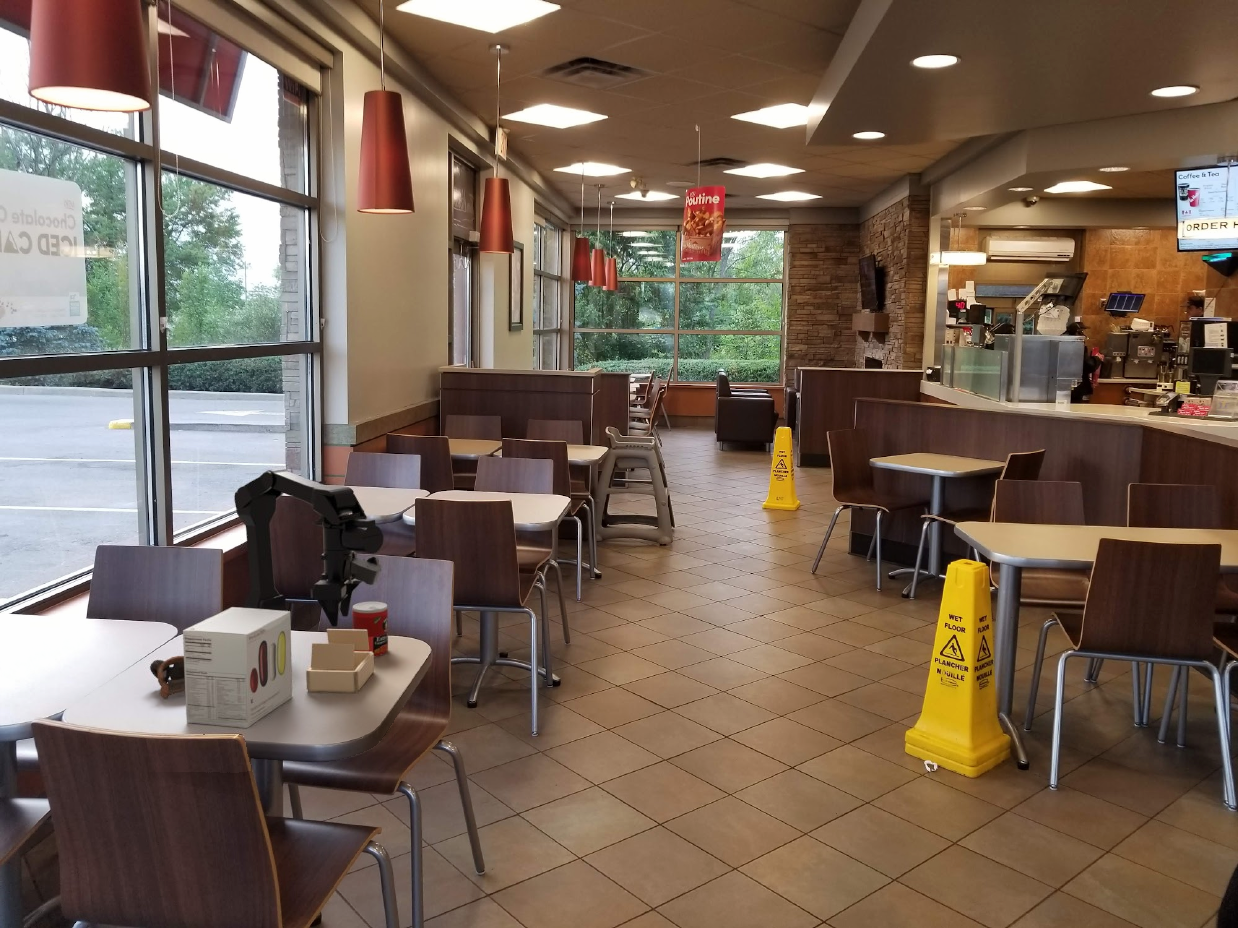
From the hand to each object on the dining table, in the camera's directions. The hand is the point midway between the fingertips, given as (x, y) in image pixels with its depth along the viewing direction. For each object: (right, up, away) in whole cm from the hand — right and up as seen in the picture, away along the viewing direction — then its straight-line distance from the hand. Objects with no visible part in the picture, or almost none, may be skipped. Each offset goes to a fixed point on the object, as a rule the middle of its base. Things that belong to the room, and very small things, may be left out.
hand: (340, 621), depth 206 cm
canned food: (+1, -11, +22) cm, 24 cm away
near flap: (0, -6, -5) cm, 8 cm away
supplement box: (-15, -15, -14) cm, 26 cm away
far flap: (0, -5, +6) cm, 8 cm away
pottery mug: (-32, -14, -5) cm, 35 cm away
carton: (0, -13, +2) cm, 13 cm away
